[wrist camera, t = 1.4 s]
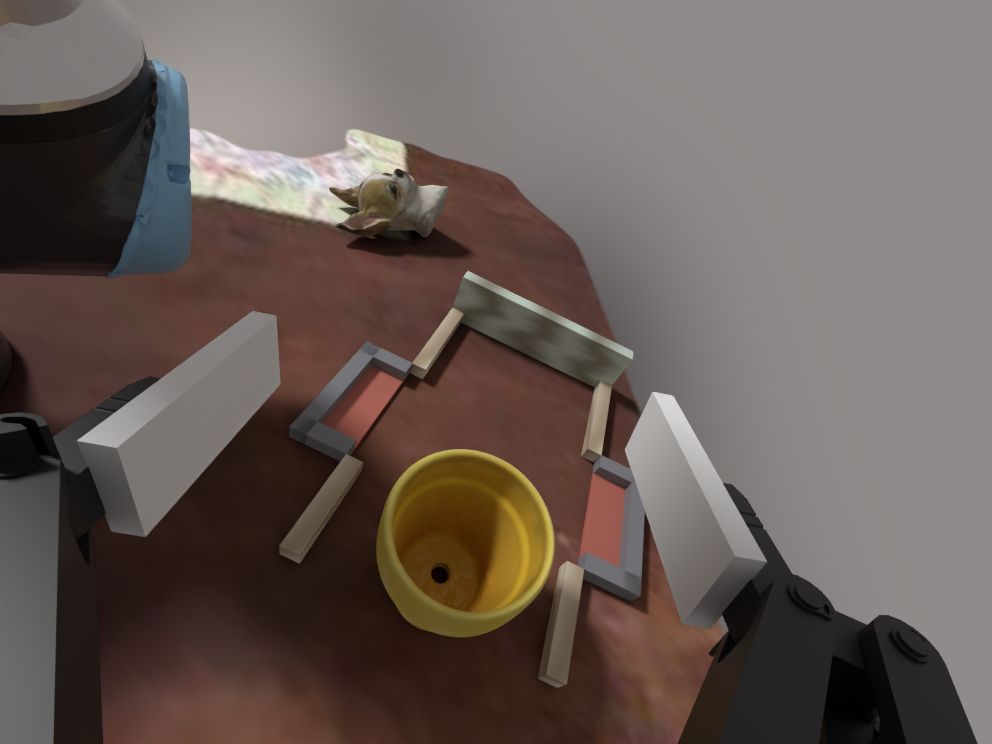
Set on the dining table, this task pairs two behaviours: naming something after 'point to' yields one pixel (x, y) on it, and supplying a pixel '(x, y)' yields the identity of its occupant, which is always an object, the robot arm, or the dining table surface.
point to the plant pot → (464, 543)
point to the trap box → (545, 342)
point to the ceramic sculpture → (392, 205)
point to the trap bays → (613, 492)
